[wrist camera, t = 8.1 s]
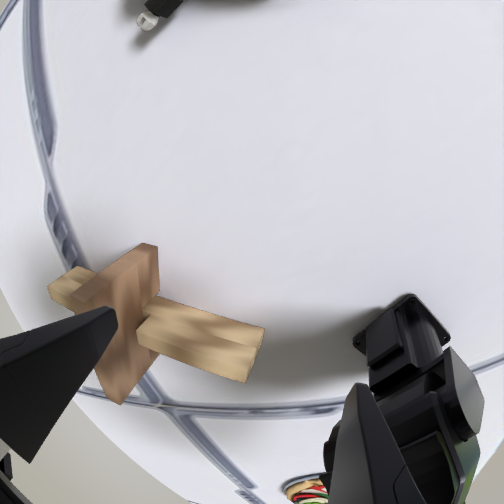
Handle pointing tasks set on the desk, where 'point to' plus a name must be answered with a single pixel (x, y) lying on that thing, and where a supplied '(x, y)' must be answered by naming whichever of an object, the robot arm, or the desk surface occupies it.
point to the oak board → (183, 331)
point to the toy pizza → (307, 491)
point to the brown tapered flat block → (123, 317)
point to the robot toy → (156, 12)
